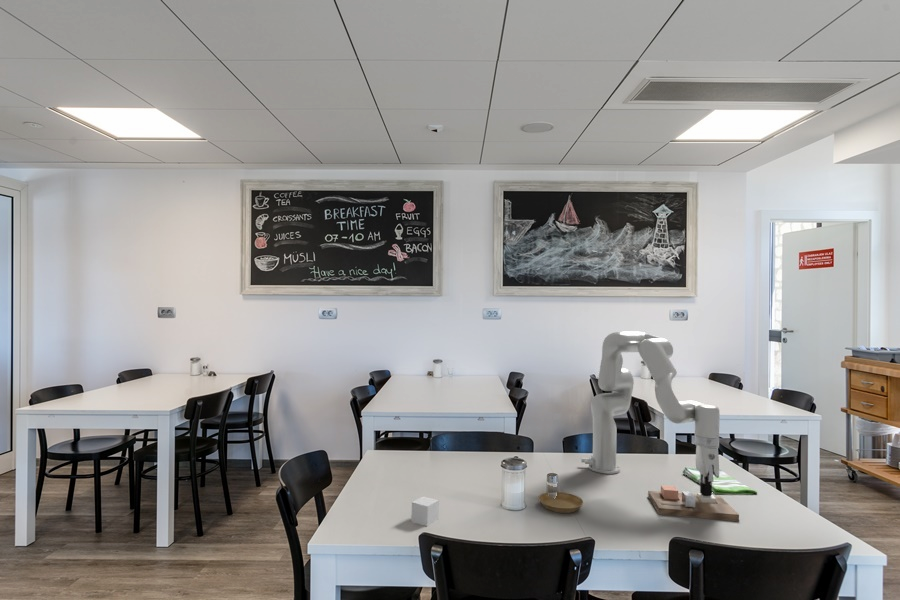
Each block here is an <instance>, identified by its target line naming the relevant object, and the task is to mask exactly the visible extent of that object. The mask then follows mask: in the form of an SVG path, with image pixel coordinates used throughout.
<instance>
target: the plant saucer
mask: <svg viewBox="0 0 900 600" xmlns="http://www.w3.org/2000/svg"><path fill="white" fill-rule="evenodd" d="M548 492H549V491H548ZM548 492H544V493H543V492H542V493H541V494H539V496H538V500H539V502H540V503H541V504H542V505H543V507H545V509H547V510H549V511H551V512H554V513H559V514H569V513H573V512H577V511H578V510H579V509H580V508H581V507H582V506H583V504H584V500H583V499H582V498H581V497H579V496H578V495H576V494H572V493H569V492H563V491H556V492H557V496H556V498H555V499H554V498H552V497H550V496H548Z"/></svg>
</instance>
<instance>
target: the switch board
mask: <svg viewBox="0 0 900 600" xmlns="http://www.w3.org/2000/svg"><path fill="white" fill-rule="evenodd" d="M693 494H694V495H695V507H686V506H685V505H684V504H683V503H682V492H681V493H680V492H678V500H675V499H664V498H663V496H662V495H661V491H658V490H657V491H654V490H648V492H647V496H648V499H649V501H650V502H651V501H652V502H651V504H652V505H653V506H655V507H654V508H655V510H656V511H657V513H658V514H659V515H664V516H674V515H675V517H676V516H677V517H688V518H698V519H699V518H700V519H710V520H711V519H712V520H720V521H721V520H723V521H733V522H735V521H736V522H739V521H740V514H739V513H738V512H737V511H736V510H735V509H734V507H732V506H731V505H730V504H729V503H728V502H727V501H726V500H725V499H724V498H723V497H722V496H720V495H719V496H718V495H713V496H714V497H715V498H716V503H705V502H700V501H699V500H698V499H697V494H695V493H693Z"/></svg>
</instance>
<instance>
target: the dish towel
mask: <svg viewBox="0 0 900 600" xmlns="http://www.w3.org/2000/svg"><path fill="white" fill-rule="evenodd" d="M682 474H683V475H685V476H686V475H687V476H686V477H688V479H690V478H691V479H690V480H692V479H693V480H694V481H693V480H692V481H693V482H695V481H696V482H698V483H699V484H700V482H701V481H700V472H699V471H698V470H697V468H696V467H689V466H685V467H684V469H683V470H682ZM696 482H695V483H696ZM698 483H697V484H698ZM699 484H698V485H699ZM712 492H713V493H714V494H713V493H712V494H713V495H758V491H756V490H754V489H752V488H751V487H750V486H747V485H745V484H744V483H742V482H740V481H739V480H737V479H735V478H734V477H731V476H730V475H728V474H727V473H726V472H725V471H723V470H722V469H721V468H719V477H718V478H716V477H715V476H714V475H713V482H712Z"/></svg>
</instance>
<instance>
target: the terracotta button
mask: <svg viewBox="0 0 900 600" xmlns="http://www.w3.org/2000/svg"><path fill="white" fill-rule="evenodd" d="M660 492H661V495H662V496H663V498H664V499H675V500H678V493H679V489H677V487H676V486H675V485H664V484H663V485H660Z"/></svg>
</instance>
